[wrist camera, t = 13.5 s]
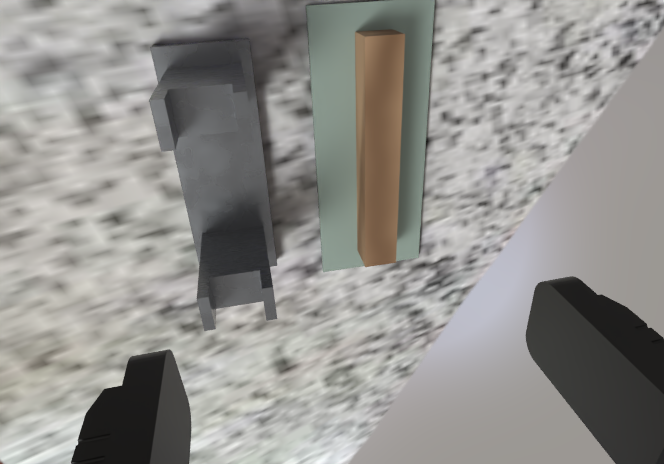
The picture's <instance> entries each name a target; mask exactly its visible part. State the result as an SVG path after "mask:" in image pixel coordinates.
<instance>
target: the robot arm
mask: <svg viewBox="0 0 664 464" xmlns="http://www.w3.org/2000/svg"><path fill="white" fill-rule="evenodd" d="M526 342H527V346H528V350H529V352H530V354H531V356H532V358H533V360H534V361H535V362H536V363H537V365H538V366H539V367H540V369H541V370H542V371H543V372H544V374H545V375H546V376H547V378H548V379H549V380H550V381H551V383H552V384H553V385H554V386H555V388H556V389H557V390H558V391H559V393H560V394H561V395H562V396H563V398H564V399H565V400H566V402H567V403H568V404H569V405H570V406H571V408H572V409H573V410H574V412H575V413H576V414H577V415H578V416H579V418H580V419H581V420H582V422H583V423H584V424H585V425H586V427H587V428H588V429H589V431H590V432H591V433H592V434H593V436H594V437H595V438H596V439H597V441H598V442H599V443H600V444H601V446H602V447H603V448H604V450H605V451H606V452H607V453H608V455H609V456H610V457H611V458H612V460H613V461H614V462H615V463H616V464H664V339H663V337H662V336H660V335H659V334H658V333H657V332H656V331H654V330H653V329H652V328H648V327H647V324H646V323H645V322H644V321H643V320H641V319H640V318H639V317H638V316H637V315H635V314H634V313H633V312H632V311H631V310H629V309H628V308H627V307H625V306H623V305H621V304H619V303H617V302H615V301H613V300H611V299H609V298H607V297H605V296H603V295H597V294H596V293H595V292H594V291H592V290H591V289H590V288H589V287H588V286H587V285H586V284H584V283H583V282H582V281H581V280H580V279H578V278H576V277H565V278H560V279H555V280H549V281H544V282H540V283H538V285H537V286H536V288H535V291H534V296H533V301H532V306H531V311H530V315H529V321H528V325H527V330H526ZM190 442H191V413H190V407H189V402H188V398H187V395H186V392H185V389H184V386H183V383H182V380H181V376H180V373H179V370H178V367H177V364H176V361H175V358H174V355H173V353H172V351H171V350H164V351H158V352H153V353H148V354H142V355H137V356H132V357H130V359H129V361H128V364H127V368H126V372H125V376H124V380H123V384H122V386H118V387H112V388H107V389H104V390H103V391H102V393H101V394H100V396H99V397H98V398H97V400H96V401H95V402H94V404H93V405H92V406H91V408H90V409H89V410H88V412H87V413H86V415H85V418H84V422H83V425H82V428H81V431H80V435H79V438H78V445H77V446H76V448H75V451H74V454H73V458H72V461H71V464H189V457H190Z"/></svg>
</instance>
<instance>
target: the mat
mask: <svg viewBox="0 0 664 464" xmlns="http://www.w3.org/2000/svg"><path fill="white" fill-rule="evenodd" d="M434 4H435V0H384V1H368V2H352V3H336V4H320V5H306V13H307V29H308V45H309V61H310V76H311V92H312V108H313V124H314V139H315V155H316V171H317V187H318V202H319V218H320V234H321V250H322V266H323V272H328V271H334V270H341V269H347V268H354V267H360V266H365V265H364V263H363V261H362V259H361V257H360V255H359V253H358V251H357V171H356V79H355V32H359V31H374V30H389V29H393V30H396V31H398V32H401V33H404V34H405V50H404V75H403V100H402V126H401V151H400V176H399V201H398V226H397V251H396V261H399V260H406V259H412V258H419V242H420V226H421V210H422V195H423V179H424V163H425V147H426V131H427V115H428V99H429V84H430V68H431V52H432V36H433V20H434Z"/></svg>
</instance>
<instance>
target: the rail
mask: <svg viewBox="0 0 664 464" xmlns="http://www.w3.org/2000/svg"><path fill="white" fill-rule="evenodd" d="M404 50H405V34H404V33H401V32H398V31H396V30H393V29H389V30H374V31H359V32H355V79H356V171H357V251H358V253H359V255H360V257H361V259H362V261H363V263H364V265H365V267H369V266H376V265H382V264H389V263H396V251H397V226H398V201H399V176H400V151H401V126H402V100H403V75H404Z"/></svg>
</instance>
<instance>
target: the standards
mask: <svg viewBox="0 0 664 464" xmlns="http://www.w3.org/2000/svg"><path fill="white" fill-rule="evenodd" d="M150 49H151V53H152V58H153V62H154V66H155V71H156V75H157V80H158V85H157V87H156V89H155V91H154V92H153V94H152V96H151V98H150V100H149V102H150V106H151V110H152V114H153V119H154V123H155V127H156V131H157V135H158V139H159V143H160V148H161V152H162V151H172V150H174V155H175V159H176V164H177V168H178V172H179V177H180V181H181V186H182V190H183V195H184V199H185V203H186V208H187V212H188V217H189V221H190V226H191V230H192V234H193V239H194V243H195V248H196V252H197V256H198V261H199V265H200V266H199V278H198V291H197V302H198V306H199V310H200V314H201V318H202V322H203V326H204V331H207V330H213V329H216V309H218V308H224V307H230V306H236V305H243V304H249V303H255V302H261V301H264V307H265V313H266V320H273V319H277V314H276V307H275V299H274V292H273V285H272V278H271V272H270V267H271V266H277V260H276V252H275V244H274V235H273V227H272V219H271V211H270V203H269V195H268V187H267V179H266V171H265V163H264V154H263V146H262V138H261V130H260V122H259V114H258V106H257V98H256V90H255V82H254V73H253V65H252V57H251V49H250V41H249V39H237V40H223V41H209V42H196V43H182V44H168V45H154V46H151V47H150Z"/></svg>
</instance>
